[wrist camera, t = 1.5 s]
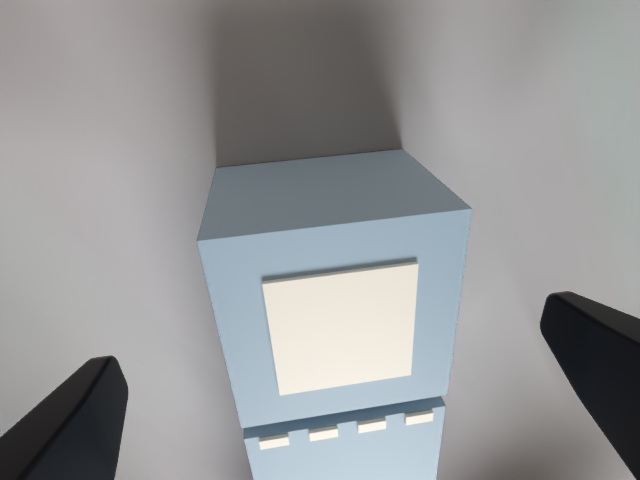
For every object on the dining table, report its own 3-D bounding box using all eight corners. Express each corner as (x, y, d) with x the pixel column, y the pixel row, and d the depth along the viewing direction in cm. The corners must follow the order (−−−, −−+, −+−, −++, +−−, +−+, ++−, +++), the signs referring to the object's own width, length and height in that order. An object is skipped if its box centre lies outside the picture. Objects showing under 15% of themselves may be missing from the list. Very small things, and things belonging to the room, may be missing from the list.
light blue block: (244, 318, 13) (241, 432, 9) (216, 167, 10) (196, 243, 7) (397, 297, 13) (448, 398, 10) (403, 148, 11) (474, 210, 7)
